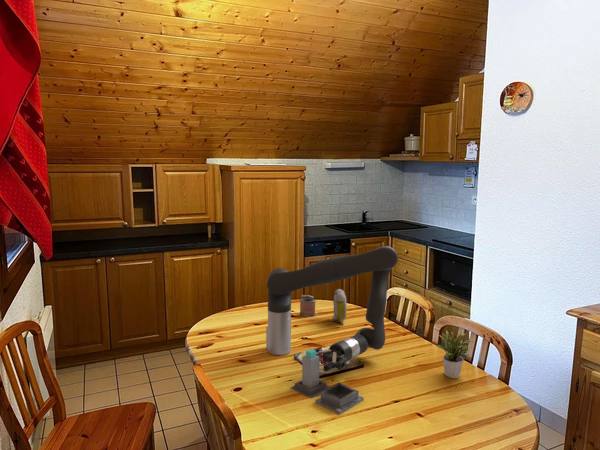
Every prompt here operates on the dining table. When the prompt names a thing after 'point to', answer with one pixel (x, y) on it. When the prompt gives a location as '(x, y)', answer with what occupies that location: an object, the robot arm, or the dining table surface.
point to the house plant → (453, 354)
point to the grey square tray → (310, 392)
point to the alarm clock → (339, 306)
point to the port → (339, 398)
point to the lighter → (307, 306)
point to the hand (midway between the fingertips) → (314, 364)
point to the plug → (310, 369)
